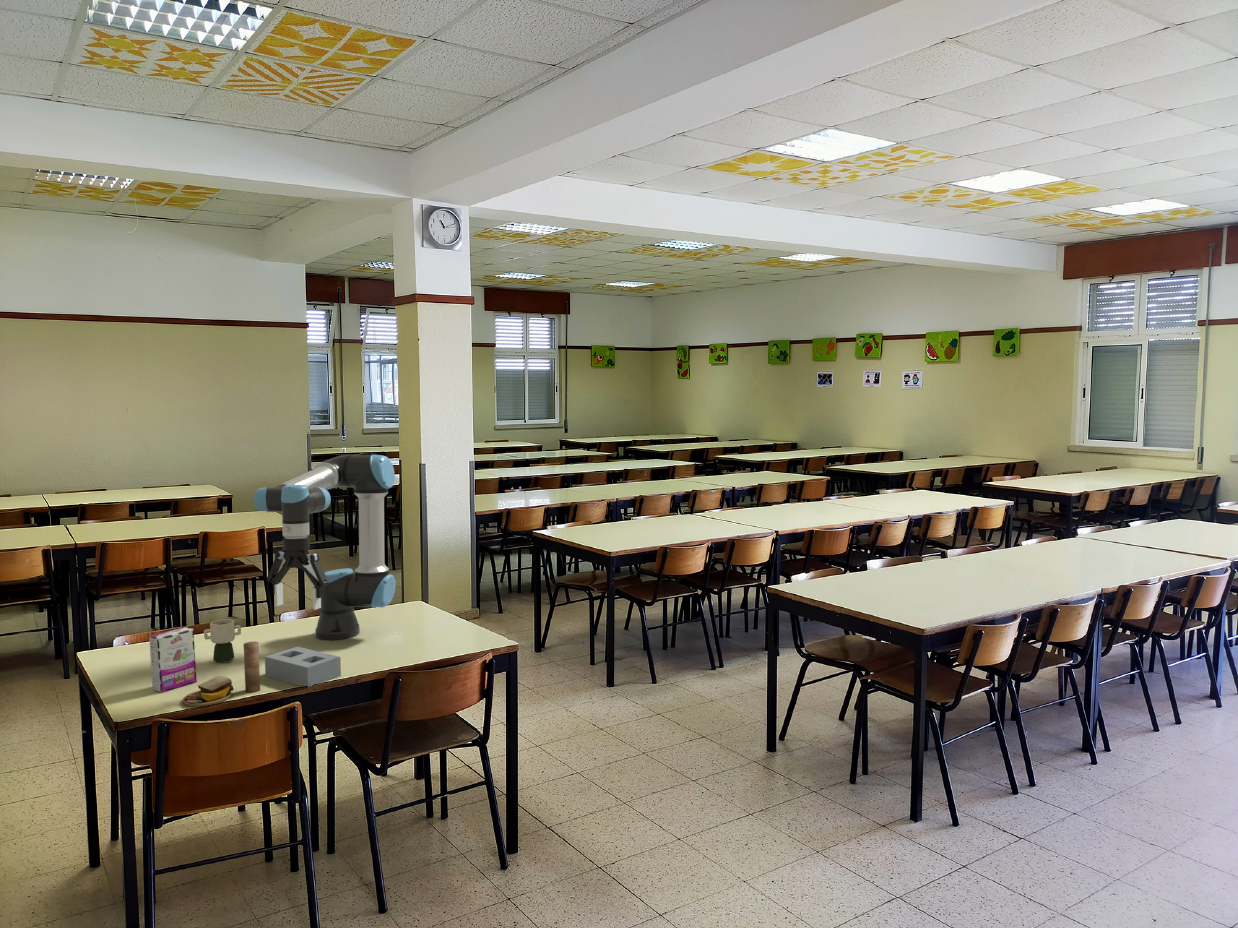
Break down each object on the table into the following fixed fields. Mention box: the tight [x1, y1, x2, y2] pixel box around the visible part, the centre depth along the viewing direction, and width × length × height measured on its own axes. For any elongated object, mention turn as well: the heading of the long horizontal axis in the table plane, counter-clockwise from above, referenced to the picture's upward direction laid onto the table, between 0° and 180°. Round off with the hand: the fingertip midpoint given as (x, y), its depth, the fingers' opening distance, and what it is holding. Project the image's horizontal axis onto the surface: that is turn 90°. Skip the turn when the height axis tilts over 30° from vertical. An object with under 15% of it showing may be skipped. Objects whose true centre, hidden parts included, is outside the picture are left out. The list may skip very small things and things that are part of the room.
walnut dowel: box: [243, 641, 261, 693], centre depth 250 cm, size 4×4×14 cm
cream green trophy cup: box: [203, 618, 242, 663], centre depth 277 cm, size 11×7×13 cm, turn 122°
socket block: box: [264, 646, 342, 688], centre depth 263 cm, size 20×12×6 cm, turn 58°
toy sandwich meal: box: [182, 675, 235, 707], centre depth 244 cm, size 12×14×5 cm
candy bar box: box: [148, 626, 198, 694], centre depth 253 cm, size 11×5×16 cm, turn 148°
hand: (298, 606), depth 257 cm, fingers open, 13 cm apart
